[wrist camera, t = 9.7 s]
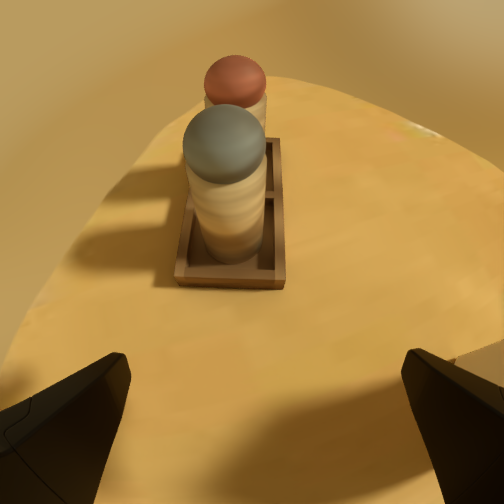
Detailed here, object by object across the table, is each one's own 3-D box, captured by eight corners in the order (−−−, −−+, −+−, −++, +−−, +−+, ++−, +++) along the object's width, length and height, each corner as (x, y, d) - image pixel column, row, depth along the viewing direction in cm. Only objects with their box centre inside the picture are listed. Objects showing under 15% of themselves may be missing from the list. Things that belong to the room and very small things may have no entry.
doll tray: (282, 289, 23) (285, 279, 22) (179, 285, 24) (173, 276, 22) (278, 151, 31) (279, 138, 29) (203, 150, 31) (200, 137, 30)
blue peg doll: (259, 267, 23) (264, 142, 12) (199, 260, 24) (160, 138, 13) (265, 217, 26) (272, 91, 15) (210, 212, 26) (189, 89, 15)
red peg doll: (252, 196, 27) (254, 74, 16) (205, 182, 28) (187, 67, 17) (269, 162, 29) (277, 51, 18) (225, 151, 30) (218, 44, 19)
